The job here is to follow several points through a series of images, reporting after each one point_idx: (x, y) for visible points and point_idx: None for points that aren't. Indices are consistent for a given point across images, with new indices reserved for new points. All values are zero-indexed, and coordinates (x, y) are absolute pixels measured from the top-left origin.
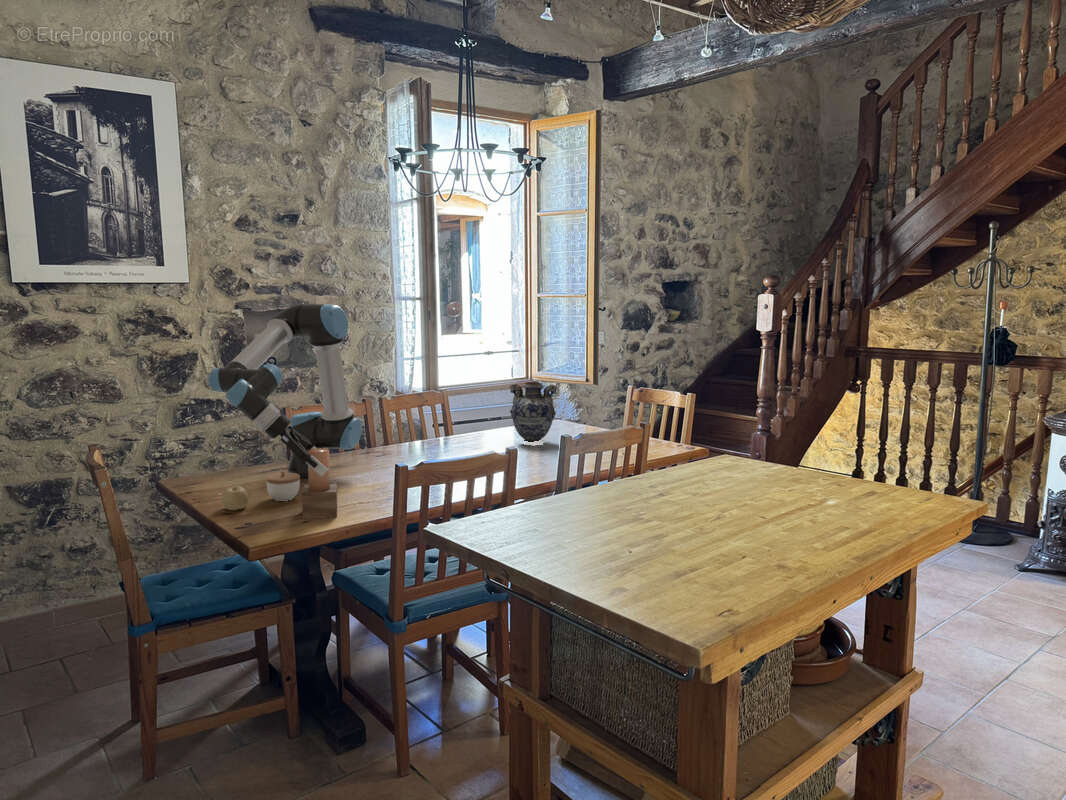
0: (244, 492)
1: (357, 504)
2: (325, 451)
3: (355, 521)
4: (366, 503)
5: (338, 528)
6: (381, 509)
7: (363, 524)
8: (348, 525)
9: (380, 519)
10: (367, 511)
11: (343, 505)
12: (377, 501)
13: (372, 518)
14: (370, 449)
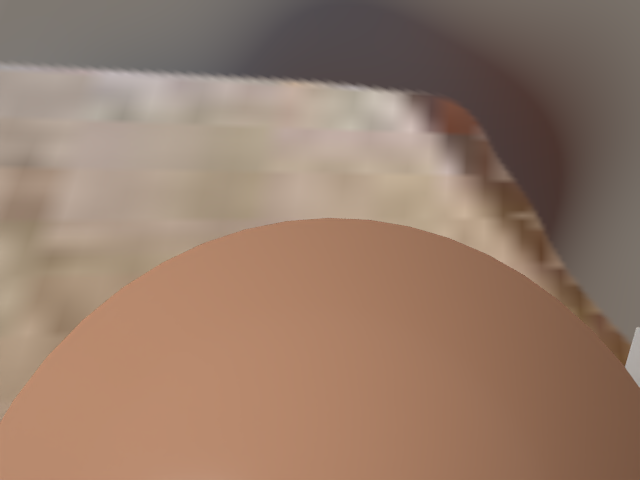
0: None
1: (61, 238)
2: (522, 312)
3: (466, 245)
4: (52, 178)
5: (603, 341)
6: (227, 96)
7: (524, 200)
8: (544, 283)
9: (434, 111)
10: (258, 175)
11: (59, 339)
12: (21, 109)
13: (412, 151)
14: None
